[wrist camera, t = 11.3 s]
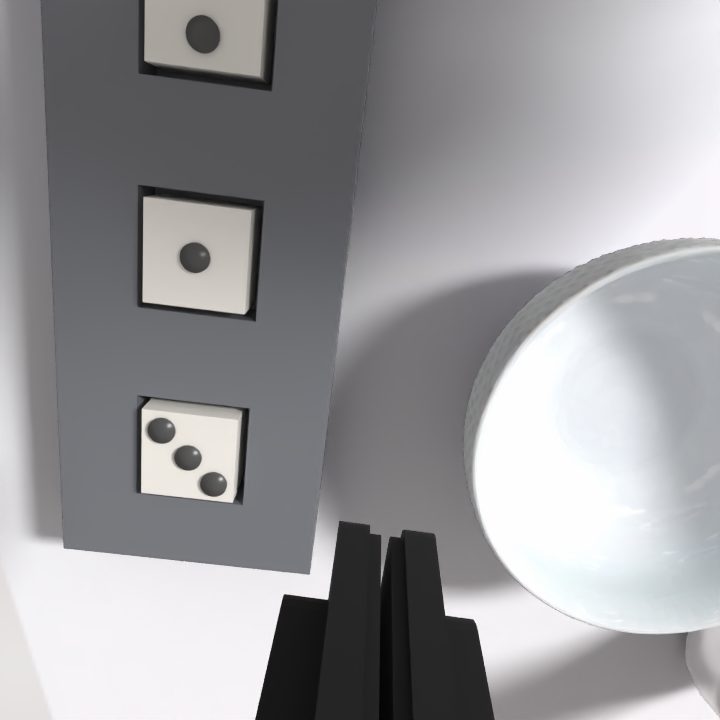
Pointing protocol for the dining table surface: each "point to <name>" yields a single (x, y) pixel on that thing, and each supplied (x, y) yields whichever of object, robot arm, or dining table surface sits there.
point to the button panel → (190, 325)
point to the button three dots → (192, 449)
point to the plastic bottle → (705, 663)
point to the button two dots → (211, 37)
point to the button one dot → (200, 253)
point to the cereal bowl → (608, 440)
